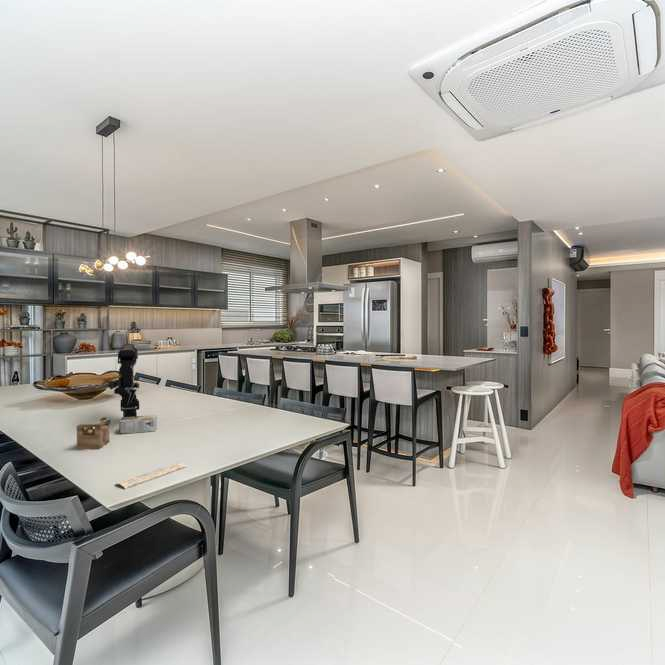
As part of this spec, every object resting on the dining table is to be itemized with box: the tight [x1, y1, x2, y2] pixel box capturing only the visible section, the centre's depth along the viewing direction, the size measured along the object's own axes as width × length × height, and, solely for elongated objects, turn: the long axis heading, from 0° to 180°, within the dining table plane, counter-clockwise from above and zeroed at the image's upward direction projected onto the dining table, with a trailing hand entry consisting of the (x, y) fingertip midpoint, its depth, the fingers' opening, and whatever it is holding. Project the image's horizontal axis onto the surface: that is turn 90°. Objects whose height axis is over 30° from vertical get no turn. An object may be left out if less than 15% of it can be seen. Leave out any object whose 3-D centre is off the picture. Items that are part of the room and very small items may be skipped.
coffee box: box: [118, 414, 158, 435], centre depth 202 cm, size 9×6×16 cm
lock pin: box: [86, 416, 112, 435], centre depth 181 cm, size 17×4×4 cm, turn 9°
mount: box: [76, 423, 110, 451], centre depth 177 cm, size 10×9×10 cm
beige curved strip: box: [114, 462, 188, 490], centre depth 142 cm, size 24×7×2 cm, turn 148°
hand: (127, 404), depth 206 cm, fingers open, 4 cm apart
